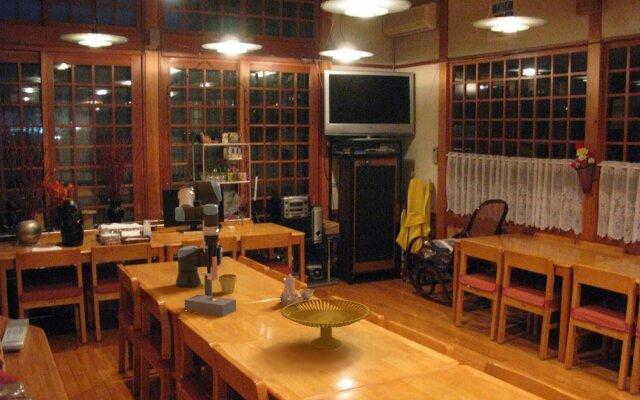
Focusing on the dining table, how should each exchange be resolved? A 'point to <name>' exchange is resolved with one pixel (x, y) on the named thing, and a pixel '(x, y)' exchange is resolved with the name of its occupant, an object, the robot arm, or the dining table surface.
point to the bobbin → (207, 284)
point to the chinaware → (293, 292)
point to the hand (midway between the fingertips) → (212, 278)
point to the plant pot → (227, 282)
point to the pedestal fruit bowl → (325, 318)
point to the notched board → (210, 305)
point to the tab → (214, 267)
